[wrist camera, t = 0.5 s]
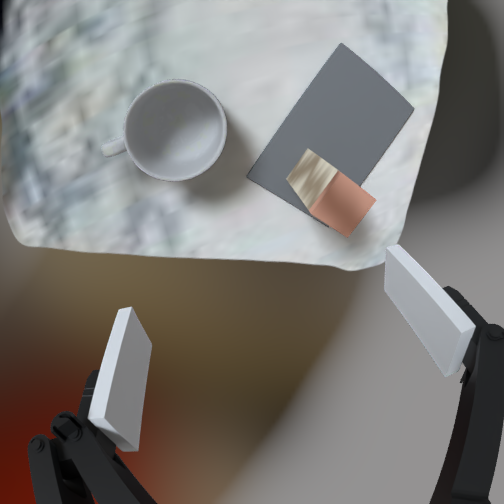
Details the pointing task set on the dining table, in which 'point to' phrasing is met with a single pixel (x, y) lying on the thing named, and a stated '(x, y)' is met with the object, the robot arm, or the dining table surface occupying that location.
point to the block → (329, 193)
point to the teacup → (172, 131)
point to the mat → (334, 125)
